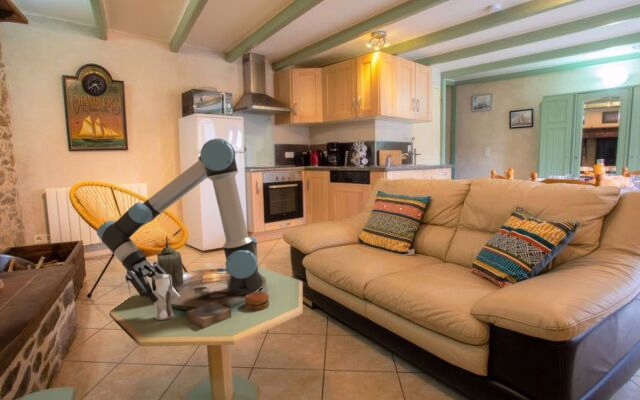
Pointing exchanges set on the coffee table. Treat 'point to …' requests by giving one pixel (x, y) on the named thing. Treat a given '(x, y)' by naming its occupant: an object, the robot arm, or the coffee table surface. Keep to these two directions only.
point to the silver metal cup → (163, 294)
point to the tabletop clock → (171, 264)
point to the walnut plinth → (208, 314)
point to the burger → (256, 300)
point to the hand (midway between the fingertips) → (171, 302)
